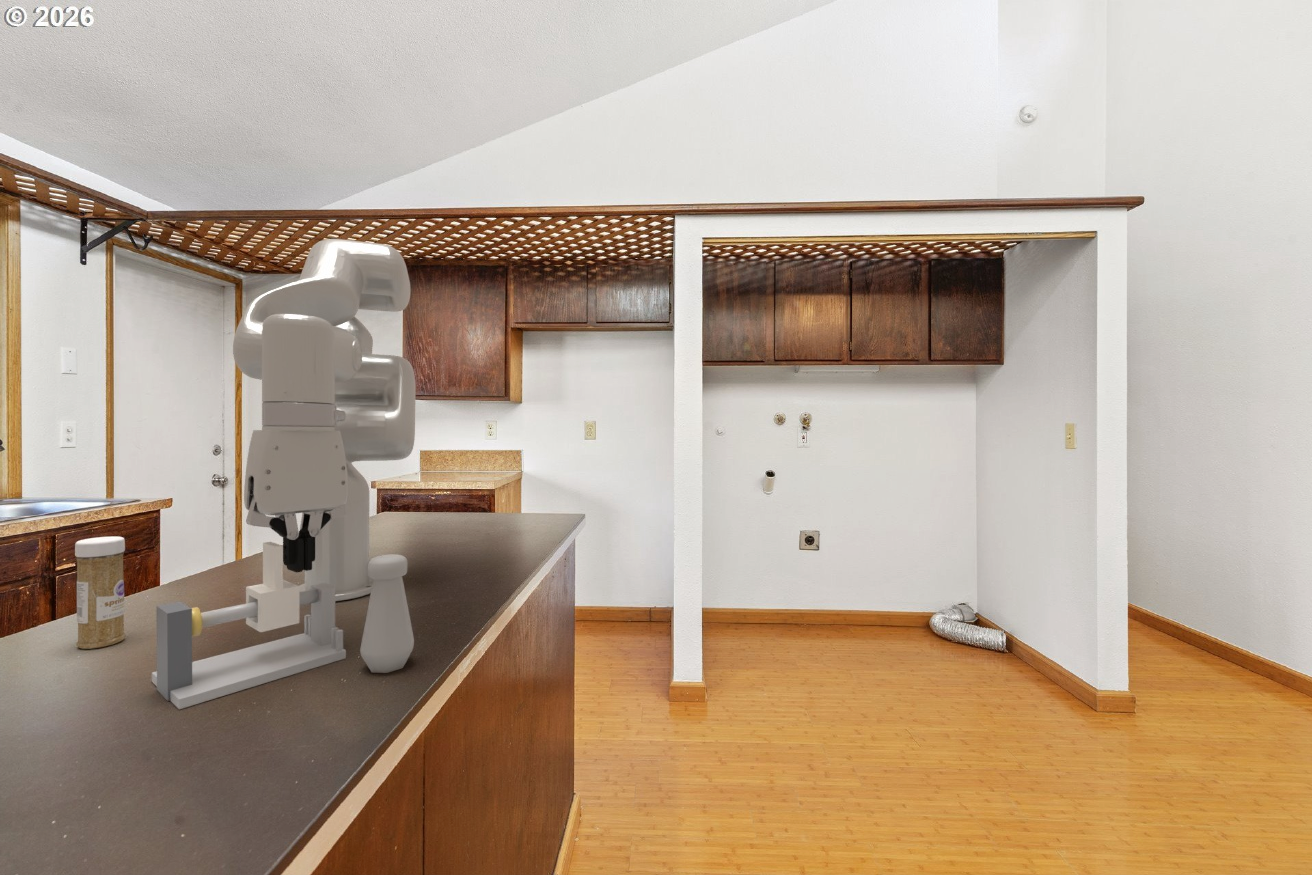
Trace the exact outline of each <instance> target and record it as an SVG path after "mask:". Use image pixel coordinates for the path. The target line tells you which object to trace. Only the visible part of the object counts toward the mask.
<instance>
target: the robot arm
mask: <svg viewBox="0 0 1312 875" xmlns="http://www.w3.org/2000/svg"><path fill="white" fill-rule="evenodd" d="M411 291H412V290H411V282H410V276H409V273H408V268H407V265H406V262H405V260H404V257H403V256H402V254H401V253H400V252H399V251H398V250H397V249H396V248H394V247H393V246H391V245H389V244H386V243H385V244H384V243H377V242H376V243H375V242H367V241H359V240H351V239H350V240H349V239H341V238H331V239H330V238H327V239H323V240H320V241H318V242H316V243H315V244H314V245H313V246H312V247H311V248H310V250H309V252H308V254H307V256H306V259H305V263H304V265H303V268H302V270H301V273H300V276H299V279H298V280H296V281H295V280H294V281H292V282H289V283H287V284H284V285H281V286H278V287H277V288H274V289H272V290H269V291H266V292H264V293H262V294H260V295H258V296H257V297H256V298H254V299H253V300H252V301H251V302H249V304H248V305H247V307H246V308H245V310H244V312H243V314H242V316H241V318H240V320H239V322H238V326H237V327H236V331H235V334H234V338H233V341H232V356H233V360H234V362H235V365H236V367H237V368H238V370H240V372H241V373H242V374H244V375H245V376H247V377H249V378H250V379H255V380H261V430H260V429H258V430H257V429H254V430H253V431H252V433H251V437H250V442H249V448H248V451H247V458H246V459H247V460H246V468H245V476H244V485H243V486H244V487H243V488H244V491H243V492H244V493H243V503H244V508H245V509H246V510H247V511H248V512H247V516H246V520H245V523H246V524H247V525H248V526H252V527H257V528H258V527H261V528H269V529H270V530H272V531H273V532H275V533H277V534H278V536H279V537H281V538H282V546H283V566H286V569H287V570H289V571H291V572H294V573H302V572H303V571H304V583H302V584H299V585H298V586H299V593H300V592H304V591H309V590H311V585H316V584H321V583H326V584H329V585H331V586H334V587H335V602H340V601H347V600H352V599H357V598H362V597H364V596H367V595H371V589H372V584H373V579H372V578H369V576H368V570H367V569H368V563H369V561H370V560H371V559H370V488H369V486H370V485H369V484H368V481H367V480H366V478H365V476H363V475H362V473H361V472H360V471H359V470H358V469H357V467H355V466H354V465H353V463H354V462H371V461H372V462H377V461H383V462H385V461H387V462H388V461H399V460H404V459H406V458H408V457H409V456H410V455H411V454H412V452H413V450H414V447H415V435H416V389H417V388H416V376H415V375H416V374H415V371H414V369H413V368H414V367H413V366H412V364H411V363H410V361H409V360H408V359H406V358H404V357H402V356H398V355H392V354H377V353H376V354H375V353H373V348H374V347H373V346H374V340H373V336H372V334H371V332H370V331H369V330H368V329H367V327H366V326H365V325H364V324H363V323H362V322H361V321H360V319H358V318H357V317H356V315H357V313H358V311H359V310H364V311H367V310H368V311H380V312H391V313H393V312H396V313H398V312H401V311H404V310H406V308H407V307H408V305H409V303H410V299H411V293H412V292H411ZM297 514H301V520H300V526H299V527H298V519H297Z"/></svg>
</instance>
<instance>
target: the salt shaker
mask: <svg viewBox="0 0 1312 875" xmlns="http://www.w3.org/2000/svg"><path fill="white" fill-rule="evenodd" d="M369 560H370V561H369V563H368V569H367V570H368V576H369V578H372V579H373V584H372V589H371V593H370V594H369V595H370V596H369V601H368V606H367V612H366V617H365V623H364V628H363V633H362V638H361V645H360V648H359V649H360V650H359V652H360V656H361V658H362V660H363V661H364V662H365V664H366V666H367V668H368V669H369V670H370V672H371V673H377V674H387V673H388V674H389V673H391V672H394V671H398V670H400V669H403V668H404V666H405V665H406V663H407V661H408V659H409V658H410V656H411V653H412V652H413V650H414V647H415V646H414V645H415V638H414V633H413V627H412V622H411V616H410V610H409V606H408V600H407V594H406V590H405V585H404V584H405V583H404V580H403V579H404V578H403V576H405V575H407V573H408V566H409V565H408V558H406V557H405V556H404V555H401V554H394V553H392V554H389V553H388V554H382V555H381V554H380V555H377V556H375V557H373V558H371V559H369Z"/></svg>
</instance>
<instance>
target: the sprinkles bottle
mask: <svg viewBox="0 0 1312 875" xmlns="http://www.w3.org/2000/svg"><path fill="white" fill-rule="evenodd" d="M125 542H126V540H125V537H122V536H99V537H91V538H85V539H80V540H78V541H76V542H75V544H74V555H75V557H76V561H77V563H76V572H77V573H76V574H77V576H76V577H77V578H76V622H77V634H78V636H77V643H76V647H77V648H79V649H83V650H89V649H91V650H92V649H101V648H105V647H107V646H112V645H115V644H118V643H120V642H122V641H123V640H125V638H126V634H125V627H124V626H125V624H124V622H125V621H124V620H125V618H124V616H125V583H124V582H125V581H124V552H125V551H126V543H125Z"/></svg>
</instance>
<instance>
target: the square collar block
mask: <svg viewBox="0 0 1312 875" xmlns="http://www.w3.org/2000/svg"><path fill="white" fill-rule="evenodd" d="M283 572H284V563H283V544H279V543H275V542H272V541H265V542H262V583H260V584H254V585H248V586H246V587H245V604H246V603H251V602H256V601H258V615H257V616H253V617H248V618H245V624H246V625H247V626H249V627H250V628H252V629H254V630H255V631H257V632H259V633H264V632H269V631H272V630H276V629H280V628H285V627H288V626H292V625H293V626H294V625H298V624H300V606H299V585H298V584H295V583H293V582H291V581H288V580H285V579H284V574H283Z"/></svg>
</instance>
